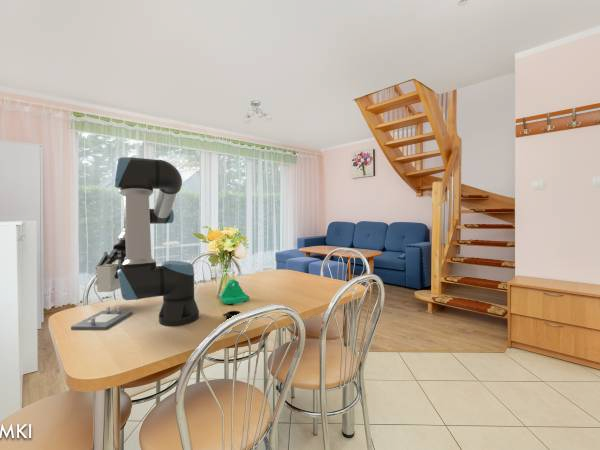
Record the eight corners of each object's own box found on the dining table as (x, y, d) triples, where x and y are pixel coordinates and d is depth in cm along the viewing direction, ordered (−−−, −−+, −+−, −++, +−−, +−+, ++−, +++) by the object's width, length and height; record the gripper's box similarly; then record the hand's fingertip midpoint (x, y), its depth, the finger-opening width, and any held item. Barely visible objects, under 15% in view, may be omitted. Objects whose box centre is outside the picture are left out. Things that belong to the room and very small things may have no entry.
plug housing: (120, 287, 140) (119, 263, 139) (110, 291, 133) (109, 266, 132) (107, 287, 140) (107, 263, 139) (97, 291, 133) (96, 266, 132)
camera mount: (226, 306, 138) (225, 284, 137) (220, 302, 144) (219, 281, 143) (250, 301, 145) (249, 280, 144) (243, 297, 151) (243, 277, 150)
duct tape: (225, 326, 115) (225, 318, 115) (221, 317, 124) (221, 310, 124) (245, 323, 118) (245, 315, 118) (240, 314, 127) (240, 308, 127)
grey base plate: (132, 313, 127) (132, 305, 127) (105, 329, 111) (105, 320, 110) (102, 313, 128) (102, 305, 128) (71, 329, 111) (70, 319, 111)
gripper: (146, 248, 150) (128, 288, 135) (109, 248, 151) (86, 288, 135) (140, 238, 145) (120, 279, 129) (102, 238, 145) (77, 279, 130)
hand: (103, 284), depth 132 cm, fingers closed on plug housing, 6 cm apart
